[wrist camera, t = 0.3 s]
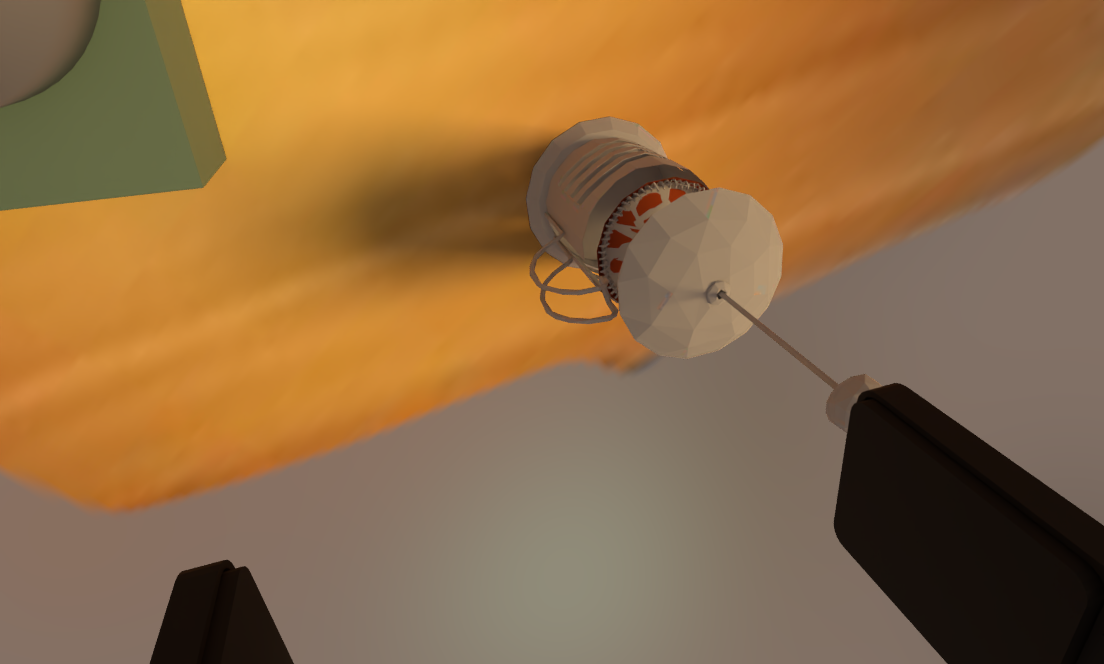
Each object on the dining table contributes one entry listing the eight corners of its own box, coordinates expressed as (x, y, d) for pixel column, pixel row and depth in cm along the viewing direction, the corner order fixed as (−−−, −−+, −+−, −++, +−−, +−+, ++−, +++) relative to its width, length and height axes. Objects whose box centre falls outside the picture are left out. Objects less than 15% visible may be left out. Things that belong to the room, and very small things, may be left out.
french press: (687, 236, 43) (1010, 467, 22) (529, 304, 43) (706, 613, 21) (654, 91, 38) (1031, 208, 17) (474, 165, 38) (632, 386, 16)
